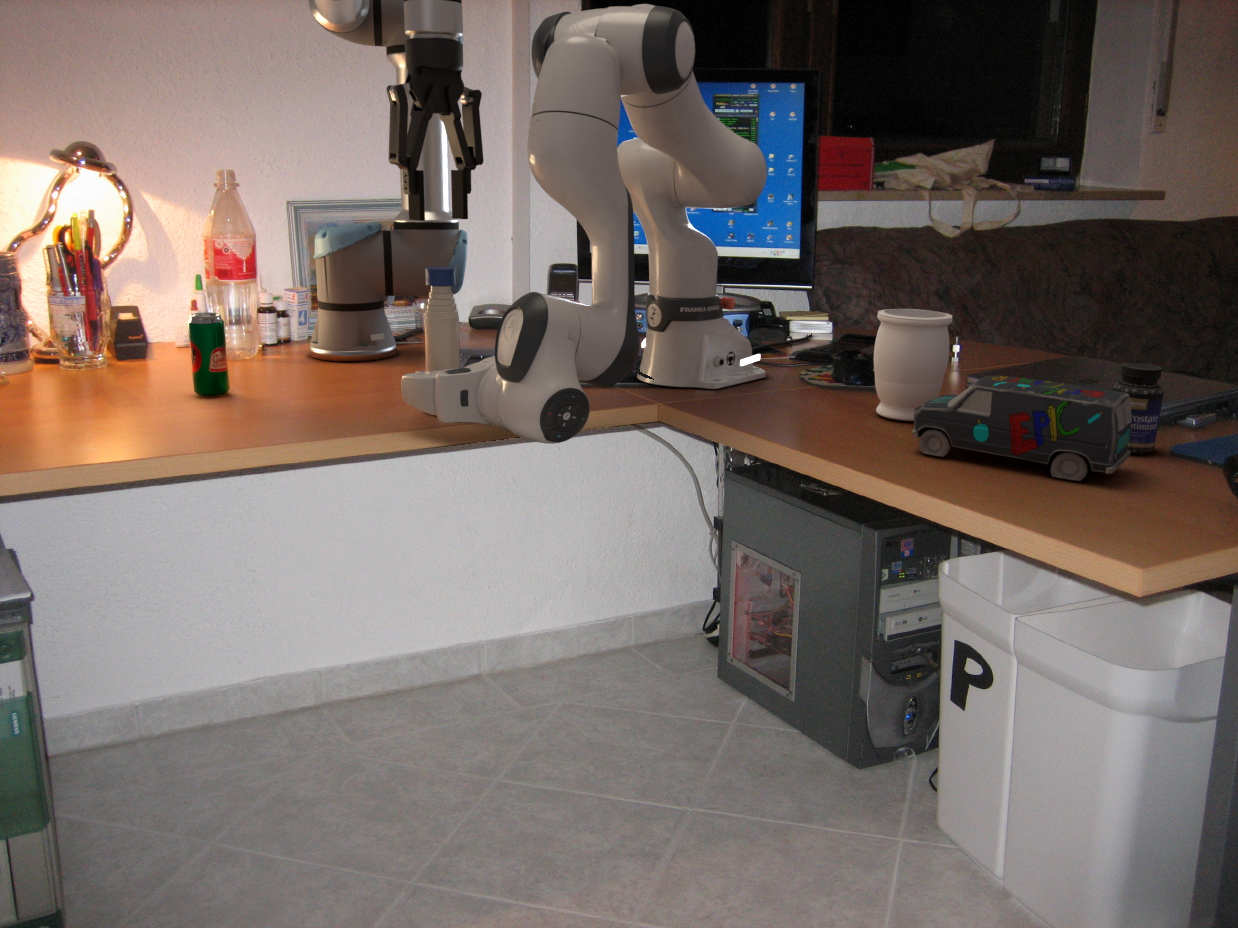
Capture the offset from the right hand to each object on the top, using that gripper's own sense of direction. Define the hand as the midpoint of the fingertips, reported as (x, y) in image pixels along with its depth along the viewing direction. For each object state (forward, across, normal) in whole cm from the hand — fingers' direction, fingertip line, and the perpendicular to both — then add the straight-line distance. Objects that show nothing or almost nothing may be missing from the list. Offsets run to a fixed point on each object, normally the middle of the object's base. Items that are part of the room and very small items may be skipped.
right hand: (449, 373), depth 151 cm
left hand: (+2, 0, -21) cm, 21 cm away
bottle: (+2, 0, +6) cm, 6 cm away
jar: (-36, -55, +6) cm, 66 cm away
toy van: (-59, -48, +6) cm, 77 cm away
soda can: (+30, +24, +6) cm, 39 cm away
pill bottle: (-64, -66, +6) cm, 92 cm away
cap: (+2, 0, -14) cm, 14 cm away
